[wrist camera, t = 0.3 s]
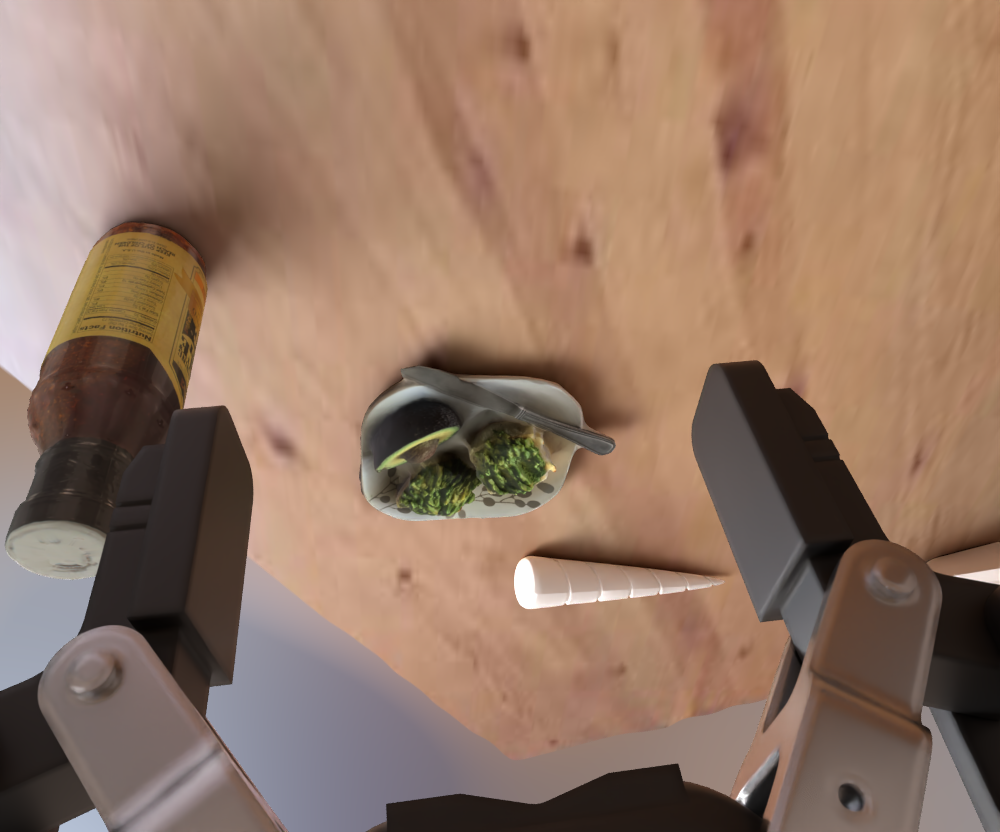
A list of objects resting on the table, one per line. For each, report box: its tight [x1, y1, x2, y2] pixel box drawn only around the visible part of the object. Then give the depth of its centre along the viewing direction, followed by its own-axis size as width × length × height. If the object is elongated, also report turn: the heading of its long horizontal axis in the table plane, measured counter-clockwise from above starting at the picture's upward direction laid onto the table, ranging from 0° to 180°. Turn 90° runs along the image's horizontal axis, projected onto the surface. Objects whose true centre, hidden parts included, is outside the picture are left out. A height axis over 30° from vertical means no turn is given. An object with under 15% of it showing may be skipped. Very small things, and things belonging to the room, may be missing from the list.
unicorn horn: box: [514, 556, 725, 609], centre depth 74 cm, size 5×24×5 cm, turn 66°
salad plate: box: [359, 366, 616, 521], centre depth 56 cm, size 19×18×5 cm
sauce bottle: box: [5, 222, 207, 580], centre depth 36 cm, size 6×6×20 cm
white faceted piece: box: [927, 542, 1000, 585], centre depth 81 cm, size 25×24×12 cm
